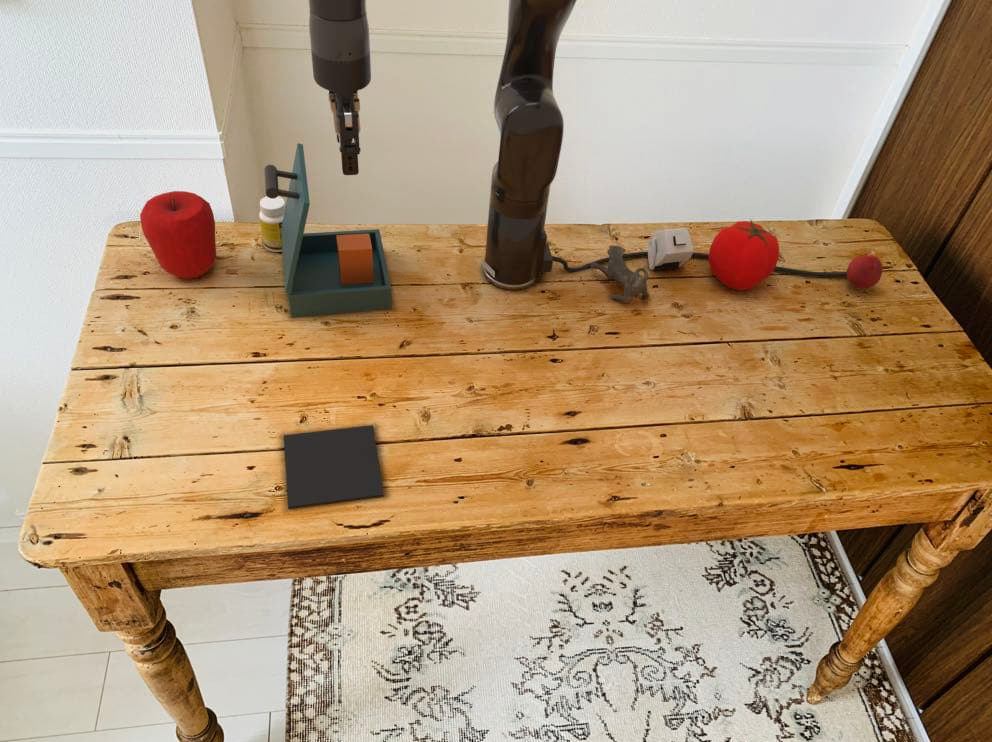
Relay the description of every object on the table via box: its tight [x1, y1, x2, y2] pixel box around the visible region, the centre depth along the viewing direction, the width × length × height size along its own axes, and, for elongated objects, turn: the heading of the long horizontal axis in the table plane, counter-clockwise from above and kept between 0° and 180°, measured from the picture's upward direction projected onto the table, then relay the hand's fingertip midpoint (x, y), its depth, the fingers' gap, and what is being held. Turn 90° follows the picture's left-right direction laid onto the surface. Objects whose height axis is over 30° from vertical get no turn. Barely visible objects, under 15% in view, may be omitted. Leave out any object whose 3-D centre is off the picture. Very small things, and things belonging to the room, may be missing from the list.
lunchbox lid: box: [263, 142, 311, 295], centre depth 121 cm, size 16×16×5 cm
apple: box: [139, 190, 217, 280], centre depth 126 cm, size 10×10×14 cm
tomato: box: [708, 218, 780, 291], centre depth 140 cm, size 12×12×11 cm
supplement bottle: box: [258, 196, 286, 253], centre depth 134 cm, size 5×5×8 cm
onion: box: [846, 250, 884, 290], centre depth 143 cm, size 6×6×8 cm
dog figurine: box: [590, 244, 650, 304], centre depth 136 cm, size 12×6×7 cm, turn 30°
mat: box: [283, 424, 385, 509], centre depth 107 cm, size 12×12×1 cm
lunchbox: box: [287, 228, 393, 318], centre depth 131 cm, size 16×16×4 cm
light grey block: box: [647, 227, 695, 271], centre depth 141 cm, size 6×7×10 cm
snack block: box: [336, 233, 374, 285], centre depth 130 cm, size 5×4×7 cm
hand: (347, 157), depth 116 cm, fingers open, 8 cm apart
